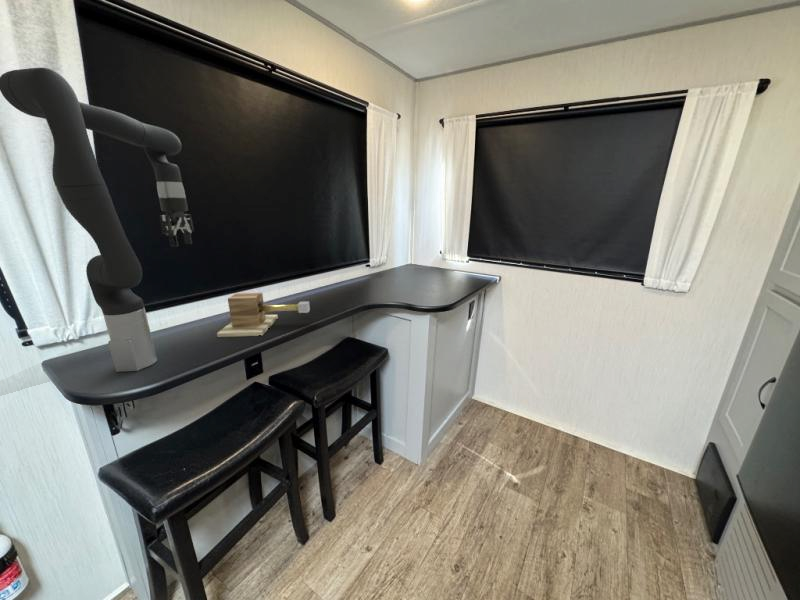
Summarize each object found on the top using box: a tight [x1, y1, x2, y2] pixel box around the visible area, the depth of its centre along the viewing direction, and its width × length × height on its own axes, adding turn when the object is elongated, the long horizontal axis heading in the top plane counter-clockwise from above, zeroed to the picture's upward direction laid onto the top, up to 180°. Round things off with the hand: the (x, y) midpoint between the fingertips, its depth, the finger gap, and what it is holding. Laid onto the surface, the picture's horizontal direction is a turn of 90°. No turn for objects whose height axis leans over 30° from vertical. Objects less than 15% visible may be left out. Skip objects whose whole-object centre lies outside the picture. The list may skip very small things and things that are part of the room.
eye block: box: [216, 292, 279, 338], centre depth 125 cm, size 20×16×13 cm
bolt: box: [258, 300, 311, 314], centre depth 126 cm, size 4×23×4 cm, turn 94°
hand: (181, 245), depth 112 cm, fingers open, 8 cm apart
